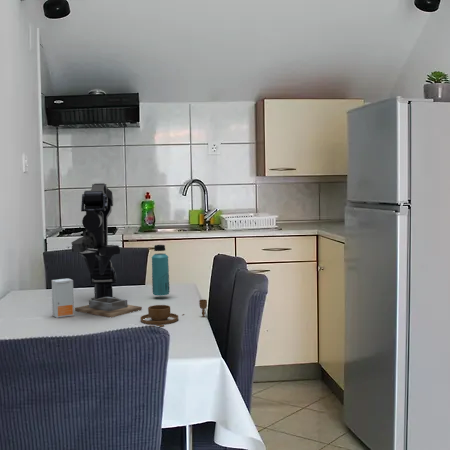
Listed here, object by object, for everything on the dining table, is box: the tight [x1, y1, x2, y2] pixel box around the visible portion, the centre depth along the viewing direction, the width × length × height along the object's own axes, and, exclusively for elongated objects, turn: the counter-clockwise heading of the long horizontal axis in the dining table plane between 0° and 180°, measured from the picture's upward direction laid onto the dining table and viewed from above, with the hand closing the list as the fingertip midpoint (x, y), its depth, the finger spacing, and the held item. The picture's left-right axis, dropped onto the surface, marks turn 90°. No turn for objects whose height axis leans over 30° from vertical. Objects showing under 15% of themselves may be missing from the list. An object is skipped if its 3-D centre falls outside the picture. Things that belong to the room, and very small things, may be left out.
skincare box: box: [51, 278, 75, 319], centre depth 200 cm, size 6×4×12 cm
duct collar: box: [74, 296, 143, 318], centre depth 208 cm, size 18×14×4 cm
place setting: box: [139, 299, 208, 328], centre depth 192 cm, size 18×20×6 cm
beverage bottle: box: [151, 244, 171, 296], centre depth 228 cm, size 6×7×20 cm
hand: (96, 274), depth 206 cm, fingers open, 5 cm apart
